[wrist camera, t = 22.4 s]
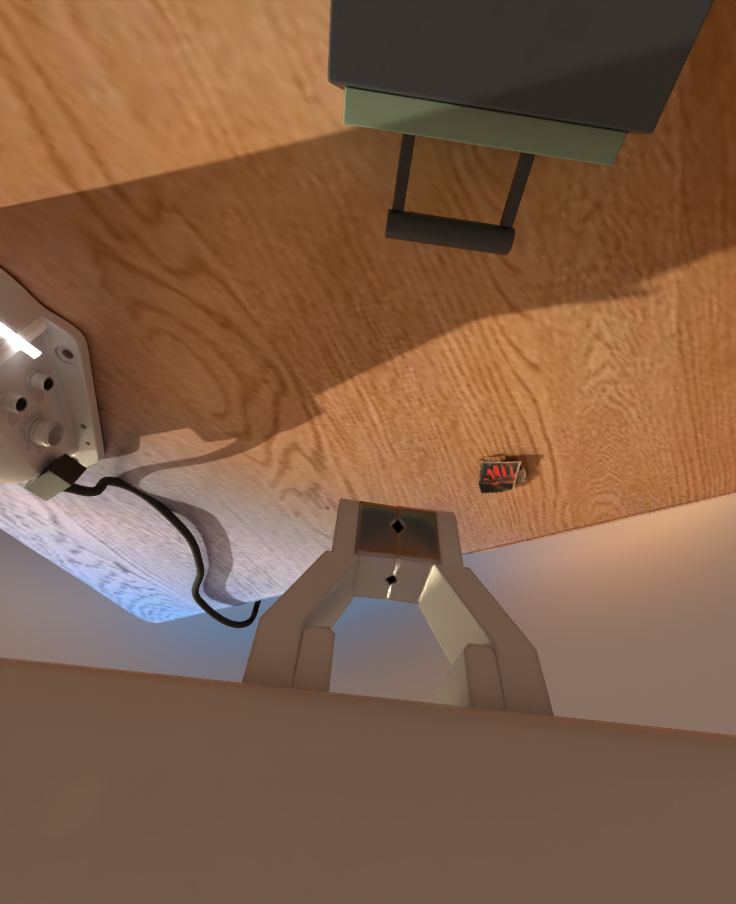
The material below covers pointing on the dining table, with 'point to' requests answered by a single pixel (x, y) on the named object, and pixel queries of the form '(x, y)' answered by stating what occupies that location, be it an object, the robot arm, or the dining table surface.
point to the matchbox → (500, 476)
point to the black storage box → (521, 54)
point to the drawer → (477, 130)
